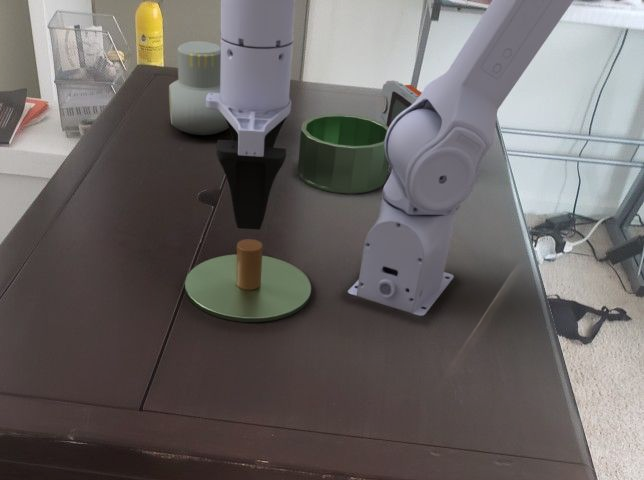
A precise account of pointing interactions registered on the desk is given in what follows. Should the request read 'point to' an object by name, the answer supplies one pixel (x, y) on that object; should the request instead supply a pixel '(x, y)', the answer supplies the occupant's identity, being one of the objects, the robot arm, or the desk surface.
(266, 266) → the lid
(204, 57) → the air freshener
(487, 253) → the desk surface
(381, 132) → the tin
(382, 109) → the handheld gaming console
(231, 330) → the desk surface
